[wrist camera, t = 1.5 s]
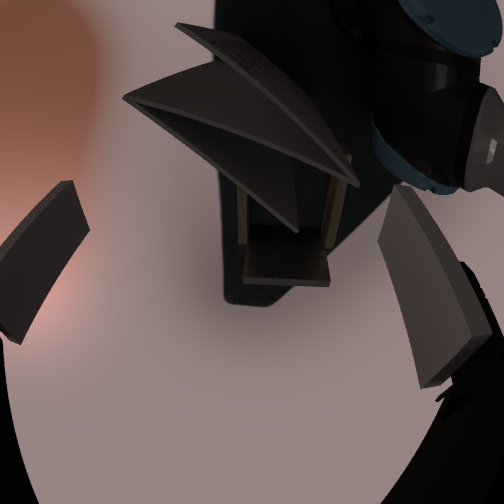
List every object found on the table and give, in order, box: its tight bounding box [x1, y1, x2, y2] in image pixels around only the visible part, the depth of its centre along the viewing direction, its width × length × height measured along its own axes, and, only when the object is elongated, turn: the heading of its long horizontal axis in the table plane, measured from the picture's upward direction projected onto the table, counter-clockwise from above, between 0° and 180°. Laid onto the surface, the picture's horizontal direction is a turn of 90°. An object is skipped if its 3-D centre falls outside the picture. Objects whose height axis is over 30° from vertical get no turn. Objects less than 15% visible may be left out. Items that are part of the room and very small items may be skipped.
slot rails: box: [237, 141, 352, 249], centre depth 48 cm, size 17×18×6 cm
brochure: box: [122, 23, 361, 233], centre depth 26 cm, size 14×6×30 cm, turn 48°
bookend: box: [243, 225, 331, 287], centre depth 51 cm, size 14×2×14 cm, turn 90°
